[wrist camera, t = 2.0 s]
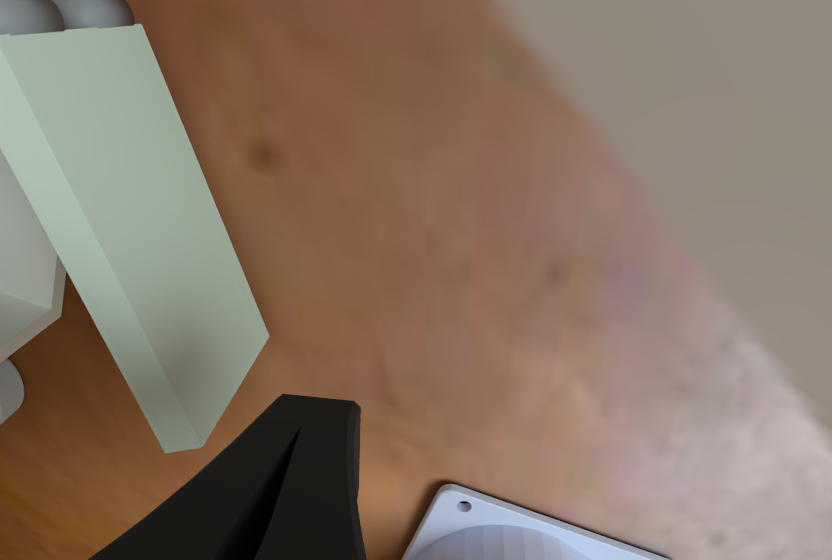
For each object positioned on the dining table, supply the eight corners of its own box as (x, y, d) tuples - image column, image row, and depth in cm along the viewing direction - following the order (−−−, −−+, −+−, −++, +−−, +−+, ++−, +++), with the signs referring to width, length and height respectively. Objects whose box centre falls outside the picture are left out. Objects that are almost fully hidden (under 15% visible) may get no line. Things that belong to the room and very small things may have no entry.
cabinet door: (129, -16, 15) (-29, -22, 10) (272, 335, 19) (205, 446, 14) (87, -3, 15) (-86, -2, 10) (237, 342, 19) (161, 454, 14)
